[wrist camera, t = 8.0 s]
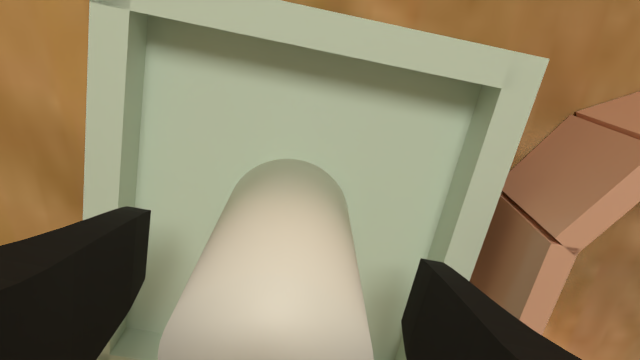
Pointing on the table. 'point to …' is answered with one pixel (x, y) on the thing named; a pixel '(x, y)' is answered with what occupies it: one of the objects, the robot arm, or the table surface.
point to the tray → (297, 137)
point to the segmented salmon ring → (560, 207)
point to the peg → (275, 275)
